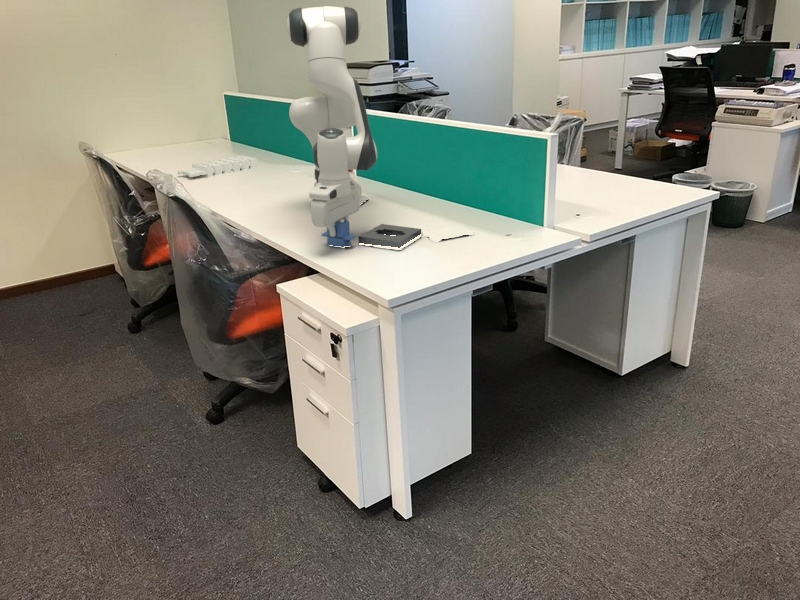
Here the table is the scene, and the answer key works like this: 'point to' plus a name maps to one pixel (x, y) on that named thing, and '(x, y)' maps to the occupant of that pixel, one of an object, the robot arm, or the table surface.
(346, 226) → the block
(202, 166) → the organizer
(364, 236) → the plate
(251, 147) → the table surface
